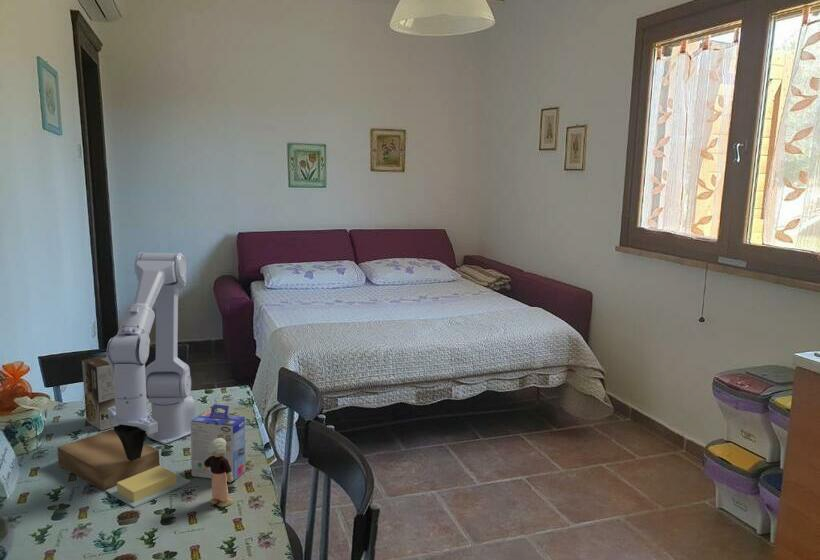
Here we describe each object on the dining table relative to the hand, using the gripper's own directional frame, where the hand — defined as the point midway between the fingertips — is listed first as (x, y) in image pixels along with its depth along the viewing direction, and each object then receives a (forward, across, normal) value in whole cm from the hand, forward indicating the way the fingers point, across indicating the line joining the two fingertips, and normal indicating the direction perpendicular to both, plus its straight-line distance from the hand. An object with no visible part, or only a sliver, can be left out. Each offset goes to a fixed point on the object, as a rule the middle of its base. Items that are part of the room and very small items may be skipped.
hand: (134, 458), depth 121 cm
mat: (+5, +5, 0) cm, 7 cm away
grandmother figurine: (+5, +20, +5) cm, 21 cm away
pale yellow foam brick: (+2, +5, -1) cm, 6 cm away
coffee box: (+5, -33, +12) cm, 35 cm away
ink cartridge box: (+5, +11, +12) cm, 17 cm away
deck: (+5, -10, 0) cm, 11 cm away
